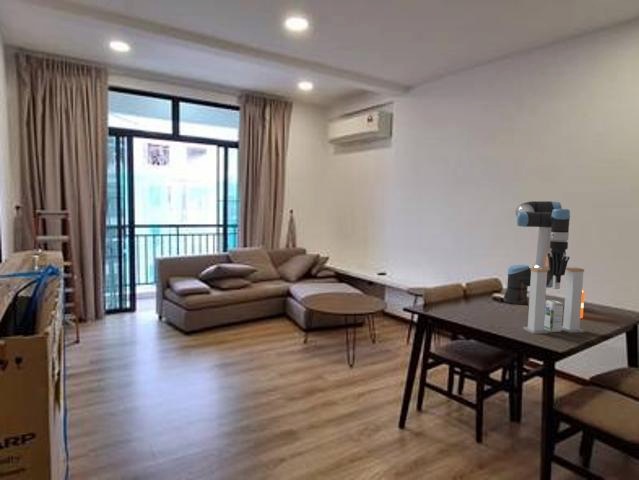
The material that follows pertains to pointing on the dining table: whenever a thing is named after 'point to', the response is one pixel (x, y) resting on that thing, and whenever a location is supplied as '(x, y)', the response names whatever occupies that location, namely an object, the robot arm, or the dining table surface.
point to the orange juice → (582, 304)
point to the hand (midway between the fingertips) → (556, 288)
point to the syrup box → (553, 316)
